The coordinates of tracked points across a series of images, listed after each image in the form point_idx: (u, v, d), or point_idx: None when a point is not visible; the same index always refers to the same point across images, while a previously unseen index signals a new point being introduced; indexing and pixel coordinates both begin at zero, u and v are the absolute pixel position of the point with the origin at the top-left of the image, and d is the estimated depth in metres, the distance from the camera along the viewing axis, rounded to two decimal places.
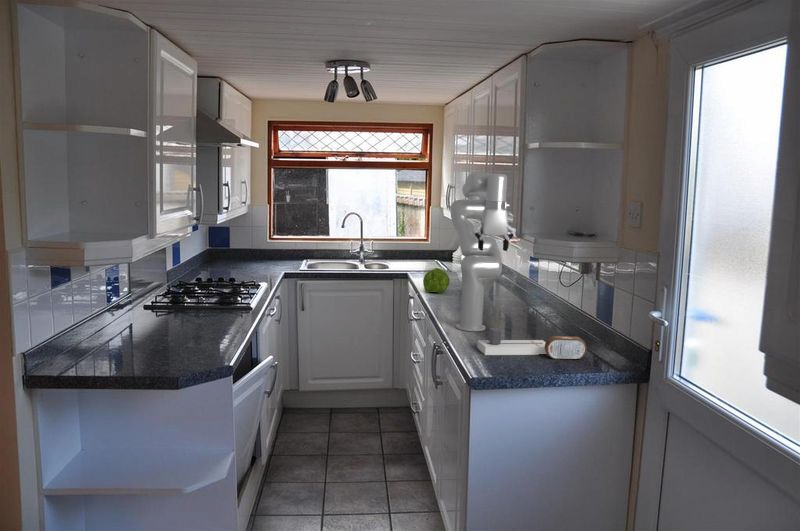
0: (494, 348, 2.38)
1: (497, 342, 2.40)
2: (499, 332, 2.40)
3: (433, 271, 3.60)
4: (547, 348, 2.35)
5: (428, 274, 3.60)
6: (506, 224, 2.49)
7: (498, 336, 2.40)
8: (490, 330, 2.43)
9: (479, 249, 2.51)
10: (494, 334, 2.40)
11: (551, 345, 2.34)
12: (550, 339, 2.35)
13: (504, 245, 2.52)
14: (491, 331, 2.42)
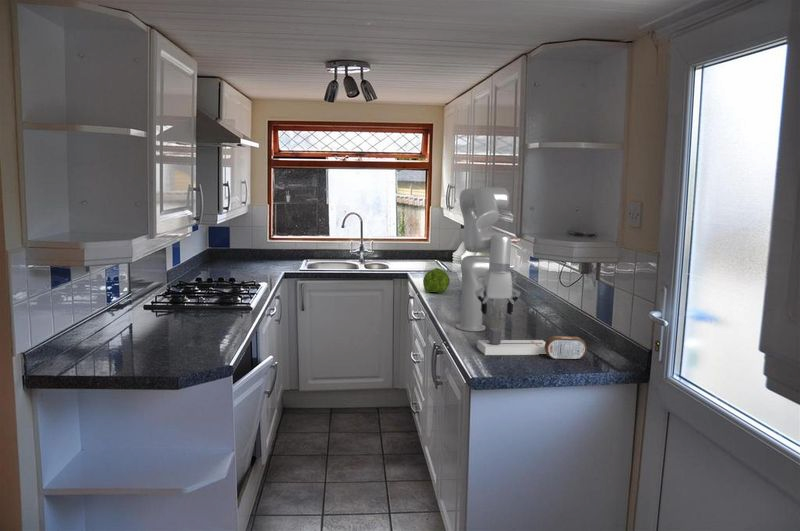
0: (494, 348, 2.38)
1: (497, 342, 2.40)
2: (499, 332, 2.40)
3: (433, 271, 3.60)
4: (547, 348, 2.35)
5: (428, 274, 3.60)
6: (510, 287, 2.38)
7: (498, 336, 2.40)
8: (490, 330, 2.43)
9: (482, 312, 2.41)
10: (494, 334, 2.40)
11: (551, 345, 2.34)
12: (550, 339, 2.35)
13: (508, 308, 2.41)
14: (491, 331, 2.42)
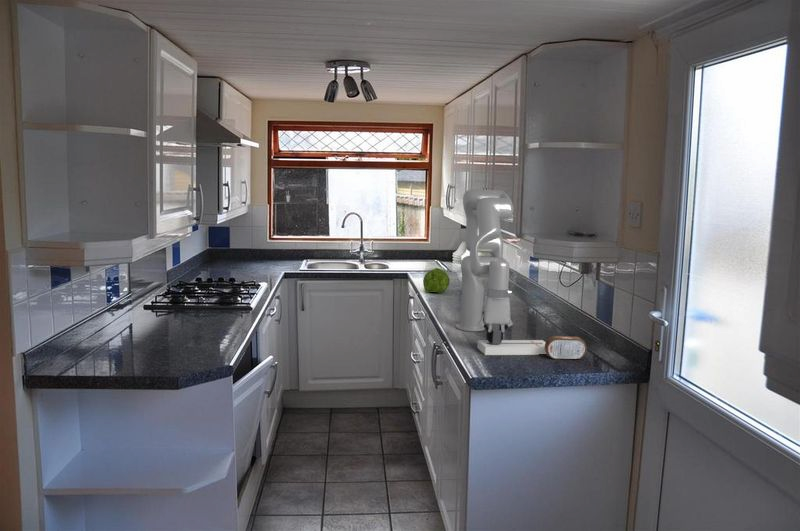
0: (494, 348, 2.38)
1: (497, 342, 2.40)
2: (499, 332, 2.40)
3: (433, 271, 3.60)
4: (547, 348, 2.35)
5: (428, 274, 3.60)
6: (508, 312, 2.40)
7: (498, 336, 2.40)
8: None
9: (488, 340, 2.43)
10: (494, 334, 2.40)
11: (551, 345, 2.34)
12: (550, 339, 2.35)
13: None
14: None
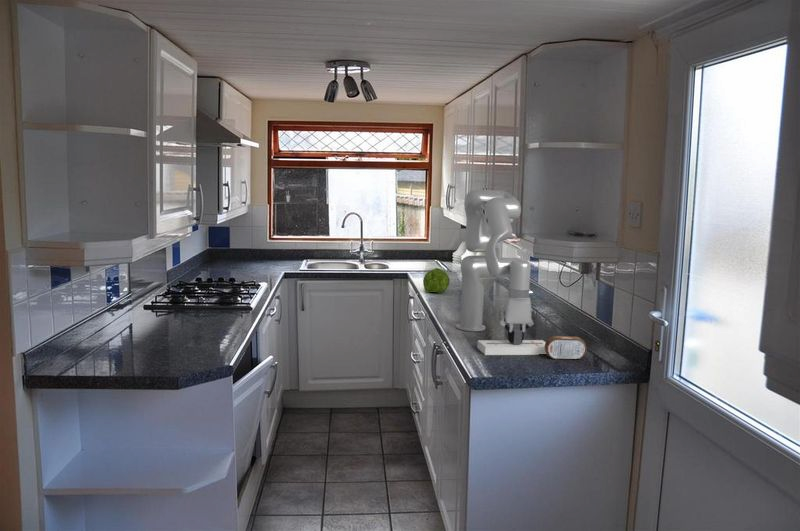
0: (494, 348, 2.38)
1: (518, 342, 2.42)
2: (520, 332, 2.41)
3: (433, 271, 3.60)
4: (547, 348, 2.35)
5: (428, 274, 3.60)
6: (529, 312, 2.41)
7: (519, 336, 2.41)
8: None
9: (509, 340, 2.45)
10: (515, 334, 2.41)
11: (551, 345, 2.34)
12: (550, 339, 2.35)
13: None
14: None
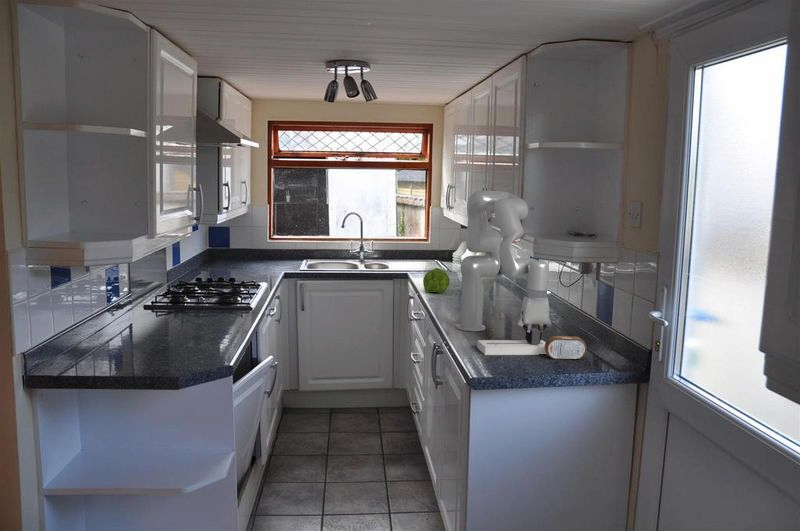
0: (494, 348, 2.38)
1: (536, 342, 2.43)
2: (538, 332, 2.42)
3: (433, 271, 3.60)
4: (547, 348, 2.35)
5: (428, 274, 3.60)
6: (547, 313, 2.42)
7: (537, 336, 2.43)
8: None
9: (526, 340, 2.46)
10: (533, 334, 2.42)
11: (551, 345, 2.34)
12: (550, 339, 2.35)
13: None
14: None
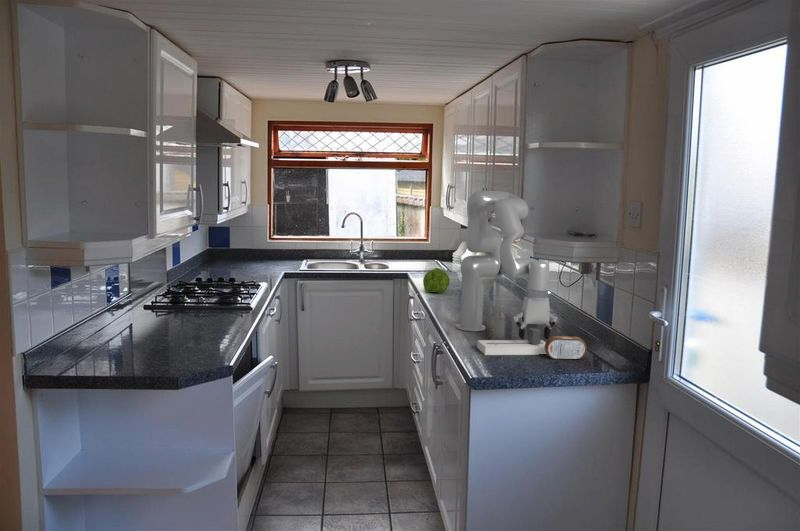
0: (494, 348, 2.38)
1: (537, 342, 2.43)
2: (539, 332, 2.43)
3: (433, 271, 3.60)
4: (547, 348, 2.35)
5: (428, 274, 3.60)
6: (548, 313, 2.42)
7: (538, 336, 2.43)
8: (529, 330, 2.46)
9: (520, 337, 2.45)
10: (534, 334, 2.42)
11: (551, 345, 2.34)
12: (550, 339, 2.35)
13: (545, 333, 2.46)
14: (530, 331, 2.44)
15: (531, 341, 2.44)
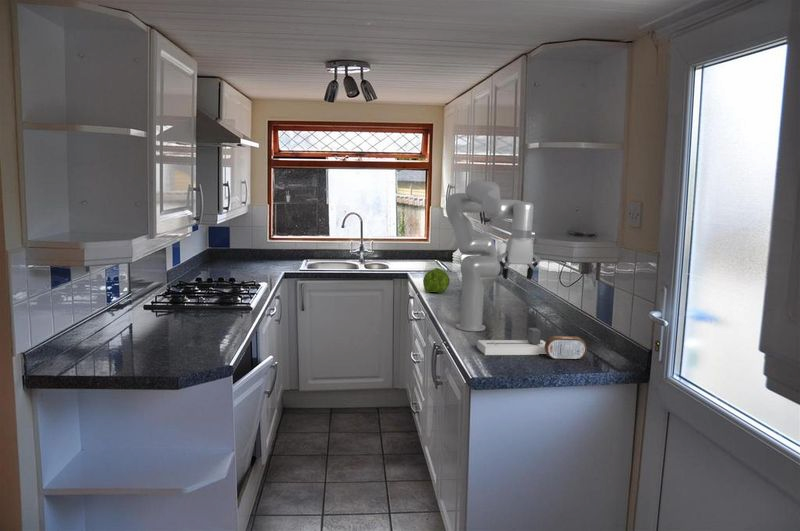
0: (494, 348, 2.38)
1: (537, 342, 2.43)
2: (539, 332, 2.43)
3: (433, 271, 3.60)
4: (547, 348, 2.35)
5: (428, 274, 3.60)
6: (531, 253, 2.46)
7: (538, 336, 2.43)
8: (529, 330, 2.46)
9: (503, 277, 2.50)
10: (534, 334, 2.42)
11: (551, 345, 2.34)
12: (550, 339, 2.35)
13: (528, 273, 2.50)
14: (530, 331, 2.44)
15: (531, 341, 2.44)
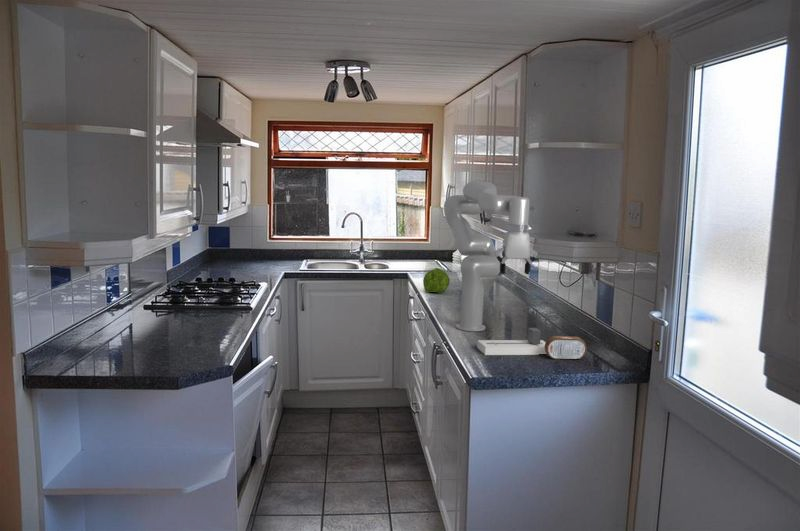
0: (494, 348, 2.38)
1: (537, 342, 2.43)
2: (539, 332, 2.43)
3: (433, 271, 3.60)
4: (547, 348, 2.35)
5: (428, 274, 3.60)
6: (528, 247, 2.47)
7: (538, 336, 2.43)
8: (529, 330, 2.46)
9: (501, 272, 2.50)
10: (534, 334, 2.42)
11: (551, 345, 2.34)
12: (550, 339, 2.35)
13: (526, 268, 2.50)
14: (530, 331, 2.44)
15: (531, 341, 2.44)
